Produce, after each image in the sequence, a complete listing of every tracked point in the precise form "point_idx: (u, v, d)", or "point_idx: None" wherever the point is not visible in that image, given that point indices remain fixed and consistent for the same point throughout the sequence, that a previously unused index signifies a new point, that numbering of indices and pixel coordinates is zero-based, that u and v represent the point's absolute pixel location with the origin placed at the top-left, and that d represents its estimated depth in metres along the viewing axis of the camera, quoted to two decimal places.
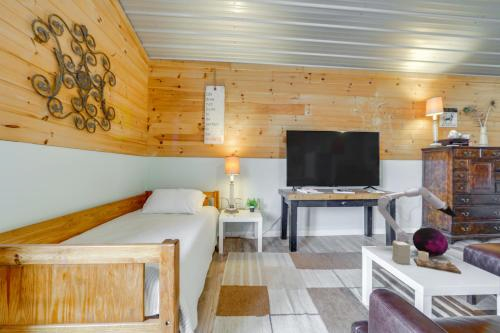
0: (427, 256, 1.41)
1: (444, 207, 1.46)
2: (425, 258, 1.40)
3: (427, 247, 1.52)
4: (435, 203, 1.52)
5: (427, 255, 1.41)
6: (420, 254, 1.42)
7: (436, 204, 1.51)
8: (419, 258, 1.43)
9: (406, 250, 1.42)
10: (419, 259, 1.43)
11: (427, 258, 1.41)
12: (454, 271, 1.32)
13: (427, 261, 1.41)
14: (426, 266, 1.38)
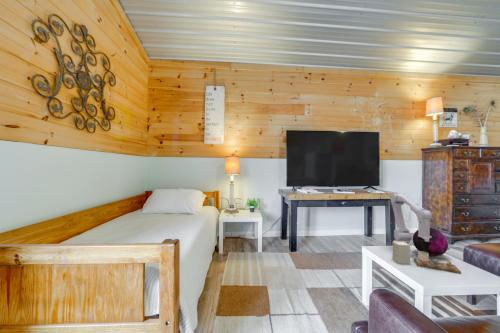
0: (427, 256, 1.41)
1: (426, 239, 1.37)
2: (425, 258, 1.40)
3: None
4: (422, 231, 1.42)
5: (427, 255, 1.41)
6: (420, 254, 1.42)
7: (422, 233, 1.42)
8: (419, 258, 1.43)
9: (406, 250, 1.42)
10: (419, 259, 1.43)
11: (427, 258, 1.41)
12: (454, 271, 1.32)
13: (427, 261, 1.41)
14: (426, 266, 1.38)
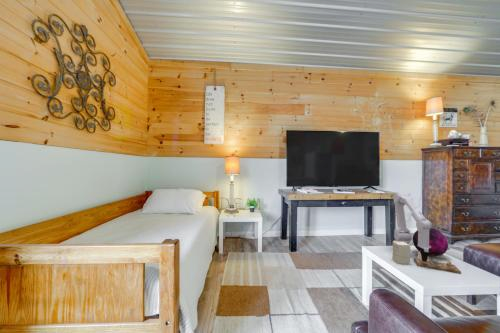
0: None
1: (426, 250, 1.37)
2: None
3: None
4: (422, 241, 1.41)
5: None
6: (420, 254, 1.42)
7: (422, 243, 1.41)
8: (419, 258, 1.43)
9: (406, 250, 1.42)
10: (419, 259, 1.43)
11: None
12: (454, 271, 1.32)
13: (427, 261, 1.41)
14: (426, 266, 1.38)
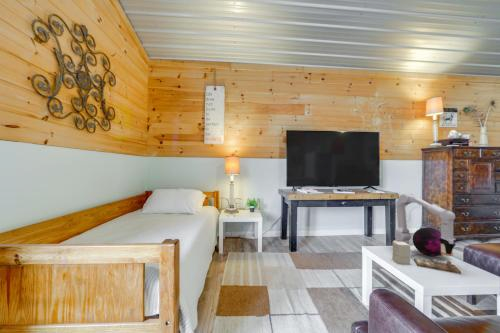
0: None
1: (451, 242, 1.32)
2: None
3: (427, 247, 1.52)
4: (446, 233, 1.36)
5: None
6: (444, 247, 1.37)
7: (445, 235, 1.36)
8: (442, 251, 1.38)
9: (406, 250, 1.42)
10: (442, 252, 1.38)
11: None
12: (454, 271, 1.32)
13: (451, 254, 1.35)
14: (426, 266, 1.38)
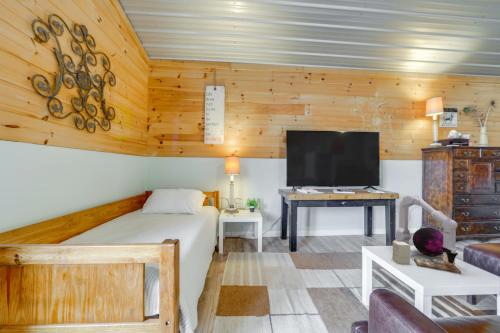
0: None
1: (453, 251, 1.31)
2: None
3: (427, 247, 1.52)
4: (448, 242, 1.36)
5: None
6: (446, 256, 1.36)
7: (448, 244, 1.36)
8: (445, 259, 1.37)
9: (406, 250, 1.42)
10: (445, 260, 1.37)
11: None
12: (454, 271, 1.32)
13: (453, 263, 1.35)
14: (426, 266, 1.38)
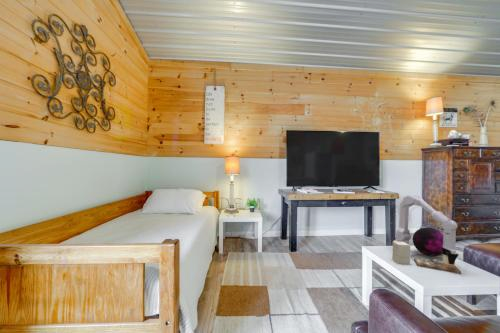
0: None
1: (453, 252, 1.31)
2: None
3: (427, 247, 1.52)
4: (448, 242, 1.36)
5: None
6: (446, 258, 1.36)
7: (448, 244, 1.36)
8: (445, 262, 1.37)
9: (406, 250, 1.42)
10: (445, 263, 1.37)
11: None
12: (454, 271, 1.32)
13: (453, 265, 1.35)
14: (426, 266, 1.38)
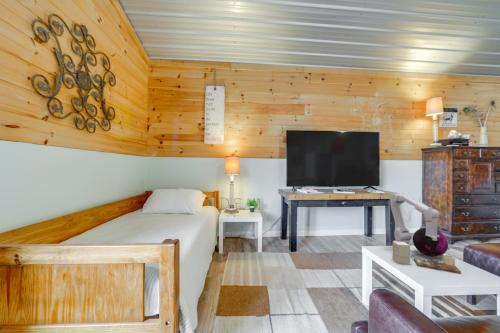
0: (453, 260, 1.35)
1: (434, 238, 1.37)
2: (451, 262, 1.35)
3: (427, 247, 1.52)
4: (430, 230, 1.41)
5: (453, 259, 1.35)
6: (446, 258, 1.36)
7: (430, 232, 1.41)
8: (445, 262, 1.37)
9: (406, 250, 1.42)
10: (445, 263, 1.37)
11: (453, 262, 1.35)
12: (454, 271, 1.32)
13: (453, 265, 1.35)
14: (426, 266, 1.38)
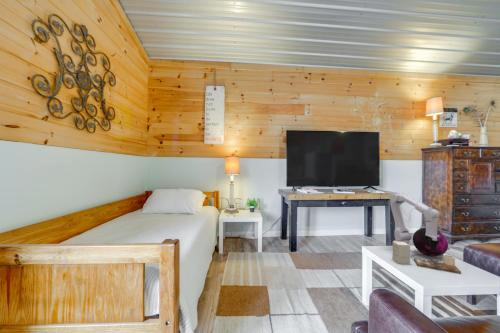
0: (453, 260, 1.35)
1: (434, 238, 1.37)
2: (451, 262, 1.35)
3: (427, 247, 1.52)
4: (430, 230, 1.41)
5: (453, 259, 1.35)
6: (446, 258, 1.36)
7: (430, 232, 1.41)
8: (445, 262, 1.37)
9: (406, 250, 1.42)
10: (445, 263, 1.37)
11: (453, 262, 1.35)
12: (454, 271, 1.32)
13: (453, 265, 1.35)
14: (426, 266, 1.38)
